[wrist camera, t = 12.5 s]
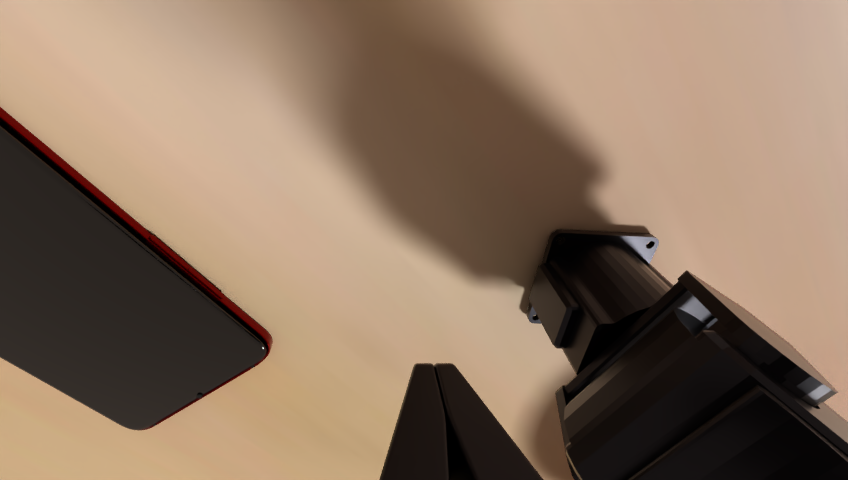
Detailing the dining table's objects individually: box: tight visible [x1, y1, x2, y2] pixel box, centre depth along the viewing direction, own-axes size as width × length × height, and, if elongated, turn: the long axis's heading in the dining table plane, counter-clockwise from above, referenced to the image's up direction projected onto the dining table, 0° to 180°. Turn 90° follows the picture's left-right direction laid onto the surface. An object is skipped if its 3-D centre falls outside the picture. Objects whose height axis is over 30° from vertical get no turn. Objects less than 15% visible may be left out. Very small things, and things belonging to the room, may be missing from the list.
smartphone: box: [0, 107, 273, 430], centre depth 20 cm, size 12×2×25 cm
